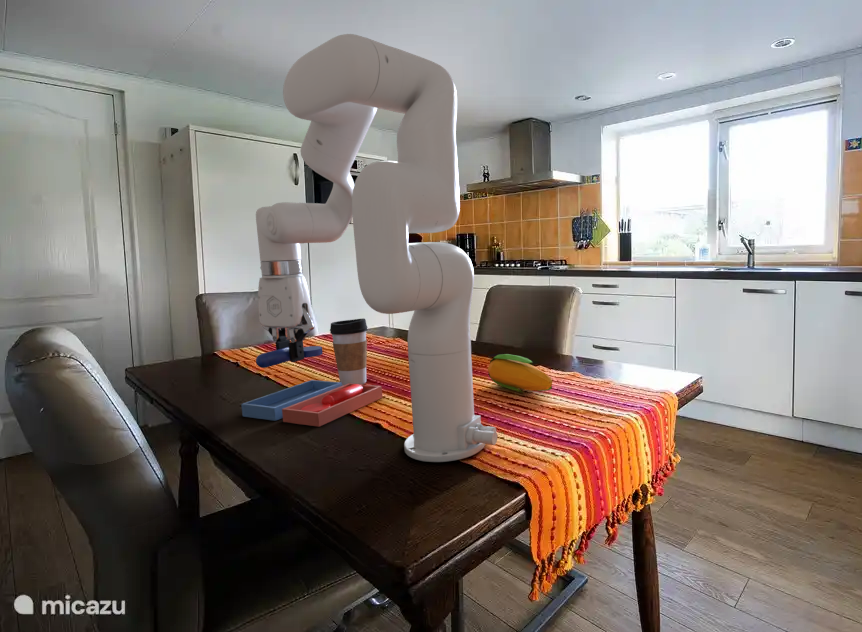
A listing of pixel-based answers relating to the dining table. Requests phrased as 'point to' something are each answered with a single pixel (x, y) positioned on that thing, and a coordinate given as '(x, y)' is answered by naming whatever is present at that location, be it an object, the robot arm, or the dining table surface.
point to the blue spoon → (284, 356)
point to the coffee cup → (350, 350)
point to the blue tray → (285, 399)
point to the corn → (518, 374)
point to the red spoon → (335, 398)
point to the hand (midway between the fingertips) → (290, 359)
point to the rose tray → (329, 414)
